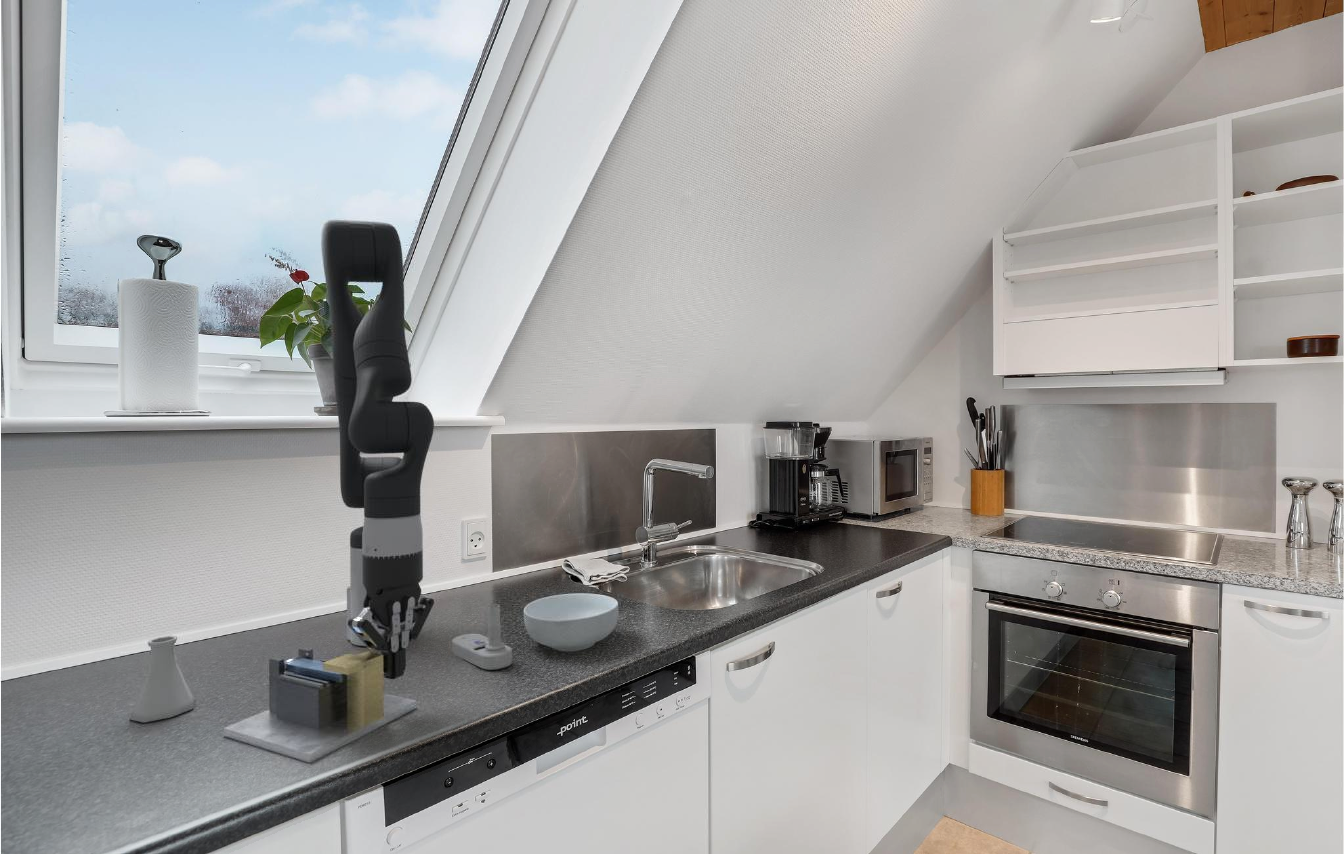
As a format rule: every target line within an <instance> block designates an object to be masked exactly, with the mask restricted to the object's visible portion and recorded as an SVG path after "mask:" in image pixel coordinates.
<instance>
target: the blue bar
mask: <svg viewBox="0 0 1344 854" xmlns="http://www.w3.org/2000/svg"><path fill="white" fill-rule="evenodd" d="M323 663H324V662H321V661H320V660H316V659H315V660H314V659H313V660H310V659H305V658H303V656H299V655H298V656H295V657H292V658H290V659H286V660H284V673H287V672H288V673H293V674H294V673H296V674H301V675H306V676H311V677H316V678H321V679H326V680H331V681H336V682H342V681H345V680H347V675H346V674H342V673H337V672H333V671H328V670H324V669H323Z"/></svg>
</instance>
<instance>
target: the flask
mask: <svg viewBox="0 0 1344 854" xmlns="http://www.w3.org/2000/svg"><path fill="white" fill-rule="evenodd" d="M177 641H178V636H176V635H172V634H171V635H165V636H164V635H163V636H157V637H154V638H151V639H149V640H148V643H147V645H148V647H150V659H149V664H148V670H147V672H146V675H145V678H144V681H143V684H142V686H141V689H140V692H139V694H138V698H137V699H136V702H135V704H134V706H133V710H132V711H131V714H130V717H129V720H131V721H136V722H139V723H148V722H154V721H158V720H159V721H160V720H163V719H169V718H173V717H175V716H178V715H180V714H183V713H186V712H188V711H190V710H193V709H194V708H195V707H194V706H195V703H196V700H195V698H194V696H193V694H192V692H191V690H190V688H189V685H188V684H187V681H186V680H185V677H184V675H183V674H182V671H181V668H180V666H179V664H178V660H177V656H176V651H175V649H176V648H175V644H176V643H177Z"/></svg>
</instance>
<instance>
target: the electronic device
mask: <svg viewBox="0 0 1344 854" xmlns="http://www.w3.org/2000/svg"><path fill="white" fill-rule="evenodd" d="M500 606H501V605H500V604H491V605H489V606H488V607H487V608H488V611H487V612H488V613H487V614H488V625H487V636H488V637H487V636H485V635H483V634H480V633H465V634H461V635H458V636H455V637H454V638H453V639H451V653H452V655H455V656H456V657H458V658H460V659H462V660H464V661H467V662H468V663H470V664H471V665H472V664H473V666H476V667H478V668H480V669H482V670H488V671H491V670H499V669H504V668H507V667H509V666H511V664H512V663H513V649H512V647H510V646H509V645H505V642H503V641H502V637H501V636H502V624H501V607H500Z"/></svg>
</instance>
